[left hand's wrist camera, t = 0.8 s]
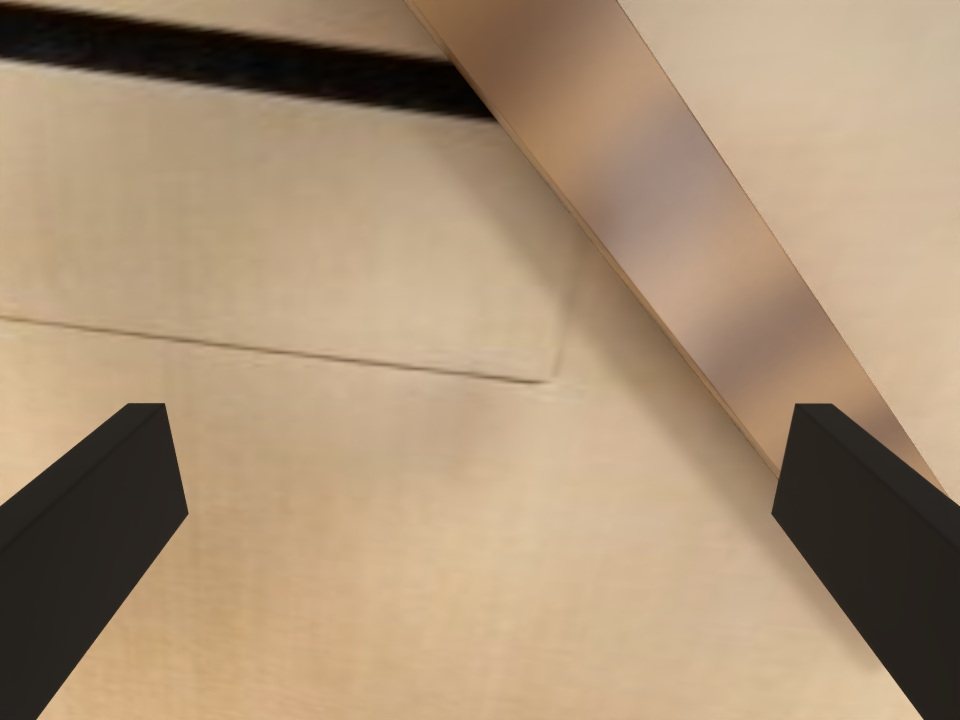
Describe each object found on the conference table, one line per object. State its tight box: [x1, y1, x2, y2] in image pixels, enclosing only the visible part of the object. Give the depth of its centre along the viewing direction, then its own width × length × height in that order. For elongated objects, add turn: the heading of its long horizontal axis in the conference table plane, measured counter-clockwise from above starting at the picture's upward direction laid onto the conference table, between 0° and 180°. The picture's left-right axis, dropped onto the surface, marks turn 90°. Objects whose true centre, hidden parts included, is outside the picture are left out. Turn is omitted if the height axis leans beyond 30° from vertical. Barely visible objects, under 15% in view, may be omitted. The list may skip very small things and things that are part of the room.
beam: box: [403, 0, 949, 497], centre depth 29 cm, size 60×5×8 cm, turn 40°
